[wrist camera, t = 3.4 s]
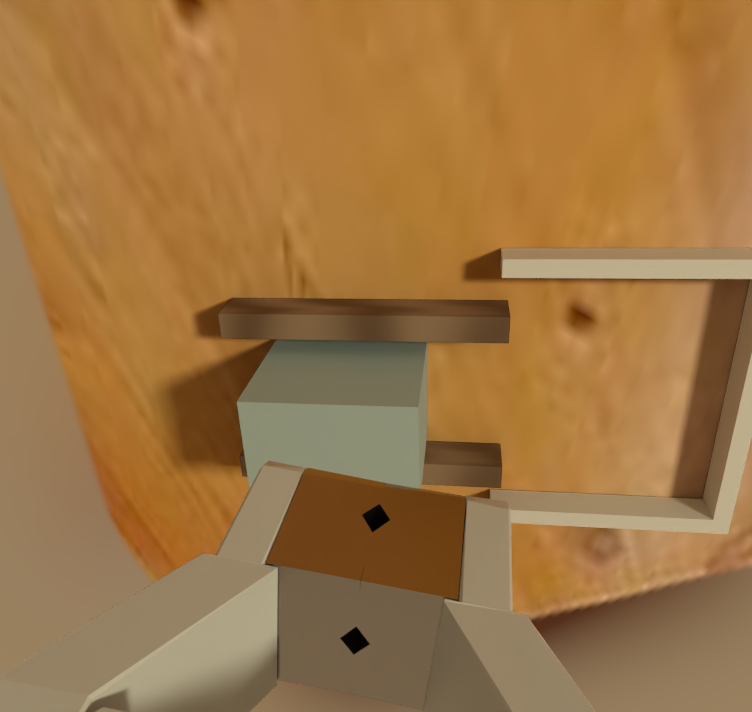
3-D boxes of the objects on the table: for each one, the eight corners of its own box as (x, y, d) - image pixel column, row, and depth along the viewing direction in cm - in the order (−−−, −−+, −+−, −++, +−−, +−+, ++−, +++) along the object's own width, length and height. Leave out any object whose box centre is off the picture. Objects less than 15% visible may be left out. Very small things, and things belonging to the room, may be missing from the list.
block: (287, 421, 42) (251, 499, 35) (278, 336, 40) (236, 401, 33) (427, 426, 41) (419, 508, 34) (427, 338, 38) (418, 407, 31)
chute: (254, 453, 44) (242, 476, 41) (232, 297, 39) (218, 313, 37) (499, 463, 41) (501, 487, 39) (507, 300, 37) (510, 317, 34)
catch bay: (489, 501, 43) (490, 521, 41) (500, 248, 36) (502, 259, 34) (716, 512, 41) (727, 534, 39) (777, 247, 34) (795, 259, 32)
